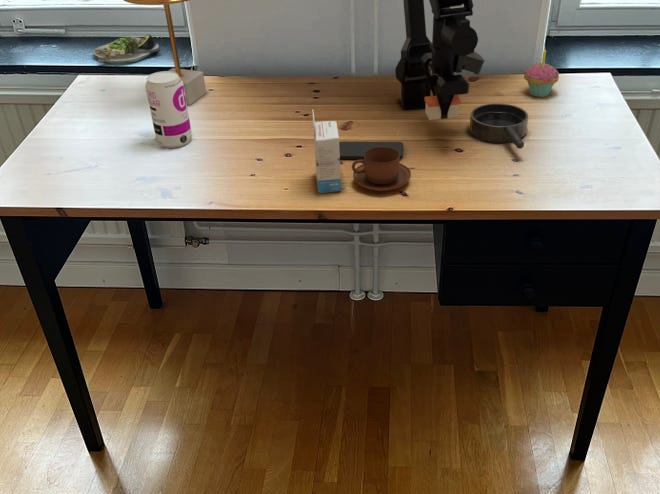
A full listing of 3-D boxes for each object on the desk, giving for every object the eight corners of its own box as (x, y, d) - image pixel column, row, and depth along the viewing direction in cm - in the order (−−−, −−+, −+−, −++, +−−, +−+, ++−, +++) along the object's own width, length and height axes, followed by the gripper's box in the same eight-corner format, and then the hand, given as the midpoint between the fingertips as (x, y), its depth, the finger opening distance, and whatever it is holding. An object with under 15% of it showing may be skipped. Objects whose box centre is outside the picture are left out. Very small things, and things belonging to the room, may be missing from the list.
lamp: (125, 107, 196) (84, -73, 169) (170, 77, 210) (138, -93, 184) (197, 118, 189) (166, -67, 163) (237, 87, 204) (215, -88, 177)
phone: (337, 141, 176) (403, 141, 174) (337, 144, 176) (403, 144, 175) (334, 156, 170) (402, 156, 169) (334, 159, 171) (402, 160, 169)
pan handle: (503, 132, 173) (504, 125, 172) (511, 132, 173) (512, 124, 172) (517, 150, 166) (517, 143, 165) (524, 149, 166) (525, 142, 165)
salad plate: (117, 73, 214) (114, 56, 211) (78, 59, 223) (74, 43, 220) (171, 52, 225) (168, 36, 222) (131, 40, 234) (128, 24, 231)
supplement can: (198, 135, 182) (188, 72, 172) (181, 151, 176) (169, 85, 166) (168, 131, 184) (156, 68, 174) (150, 146, 178) (136, 82, 169)
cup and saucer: (367, 201, 157) (367, 173, 153) (344, 175, 165) (343, 148, 161) (420, 188, 160) (421, 160, 156) (395, 164, 168) (395, 137, 164)
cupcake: (556, 100, 192) (563, 51, 184) (521, 99, 193) (527, 49, 185) (556, 87, 198) (563, 39, 190) (522, 85, 199) (528, 37, 192)
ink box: (341, 192, 160) (339, 123, 150) (317, 193, 159) (313, 125, 150) (338, 172, 166) (336, 106, 156) (315, 174, 166) (311, 107, 156)
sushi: (428, 120, 175) (428, 103, 172) (423, 113, 178) (424, 96, 175) (460, 117, 175) (461, 100, 173) (455, 110, 179) (456, 93, 176)
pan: (478, 146, 174) (480, 129, 171) (462, 122, 184) (463, 106, 181) (534, 140, 175) (536, 123, 173) (515, 117, 185) (517, 101, 182)
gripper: (495, 52, 160) (488, 124, 170) (469, 23, 174) (465, 91, 184) (442, 56, 158) (439, 129, 169) (421, 27, 172) (419, 96, 183)
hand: (442, 110), depth 176 cm, fingers closed on sushi, 4 cm apart
